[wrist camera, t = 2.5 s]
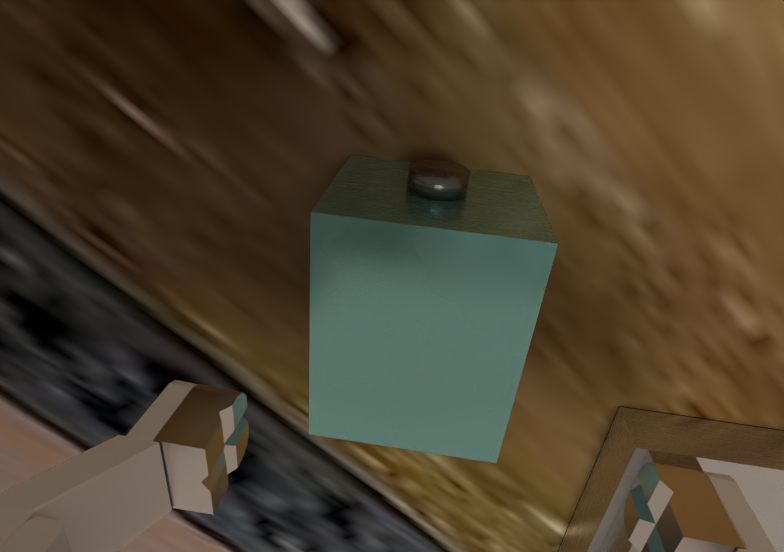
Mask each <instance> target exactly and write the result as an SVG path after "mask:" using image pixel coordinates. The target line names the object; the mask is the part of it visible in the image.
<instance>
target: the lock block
mask: <svg viewBox="0 0 784 552" xmlns="http://www.w3.org/2000/svg"><path fill="white" fill-rule="evenodd" d="M557 246H558V242H557V240H556V237H555V235H554V233H553V230H552V228H551V225H550V223H549V221H548V218H547V216H546V214H545V211H544V209H543V207H542V204H541V202H540V200H539V197H538V195H537V193H536V190H535V188H534V186H533V183H532V181H531V178H530V176H524V175H515V174H507V173H499V172H491V171H482V170H474V169H468V168H466V167H465V166H463V165H460V164H457V163H454V162H449V161H444V160H434V159H424V160H416V161H413V162H408V161H400V160H392V159H383V158H375V157H367V156H359V155H351V156H350V157H349V159H348V160H347V161H346V163H345V164H344V166H343V167H342V168H341V170H340V171H339V173H338V174H337V175H336V177H335V178H334V180H333V181H332V182H331V184H330V185H329V187H328V188H327V189H326V191H325V192H324V194H323V195H322V196H321V198H320V199H319V201H318V202H317V204H316V205H315V206H314V208H313V209H312V211H311V212H310V343H309V434H311V435H318V436H324V437H331V438H337V439H343V440H350V441H356V442H363V443H369V444H376V445H382V446H389V447H395V448H402V449H408V450H415V451H421V452H428V453H434V454H440V455H447V456H453V457H460V458H466V459H473V460H479V461H486V462H492V463H497V460H498V456H499V453H500V449H501V445H502V442H503V438H504V435H505V431H506V428H507V424H508V421H509V417H510V413H511V410H512V406H513V403H514V399H515V396H516V392H517V389H518V385H519V381H520V378H521V374H522V371H523V367H524V364H525V360H526V357H527V353H528V349H529V346H530V342H531V339H532V335H533V332H534V328H535V325H536V321H537V317H538V314H539V310H540V307H541V303H542V300H543V296H544V293H545V289H546V286H547V282H548V278H549V275H550V271H551V268H552V264H553V261H554V257H555V254H556V250H557Z"/></svg>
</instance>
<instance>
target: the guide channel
mask: <svg viewBox="0 0 784 552" xmlns="http://www.w3.org/2000/svg"><path fill="white" fill-rule="evenodd" d="M647 462H650V463H656V464H662V465H668V466H674V467H680V468H687V469H693V470H698V471H705V472H712V473H718V474H724V475H729V476H730V477H732V478H733V479H734V480H735V481H736V482H737V484H738V486H739V488H740V489H741V491H742V493H743V495H744V496H745V498H746V500H747V502H748V503H749V505H750V507H751V508H752V510H753V512H754V514H755V515H756V517H757V519H758V521H759V522H760V524H761V526H762V528H763V529H764V531H765V533H766V534H767V536H768V538H769V540H770V541H771V543H772V545H773V547H774V548H775V550H776V552H784V431H780V430H774V429H767V428H760V427H753V426H747V425H740V424H733V423H726V422H720V421H713V420H706V419H699V418H693V417H686V416H679V415H672V414H665V413H659V412H652V411H645V410H638V409H632V408H625V407H619V409H618V412H617V414H616V416H615V419H614V421H613V423H612V426H611V428H610V431H609V433H608V435H607V438H606V440H605V442H604V445H603V447H602V449H601V452H600V454H599V456H598V459H597V461H596V463H595V466H594V468H593V470H592V473H591V475H590V477H589V480H588V482H587V485H586V487H585V489H584V492H583V494H582V496H581V499H580V501H579V503H578V506H577V508H576V510H575V513H574V515H573V517H572V520H571V522H570V524H569V527H568V529H567V532H566V534H565V536H564V539H563V541H562V543H561V546H560V548H559V550H558V552H639V551H638V550H637V549H636V548H635V547H634V545H633V544H632V543H631V542H630V541H629V540H628V536H627V533H626V529H625V523H624V507H625V501H626V498H627V496H628V494H629V491H630V490H631V489H633V488H635V487H637V486H639V485H641V484H640V481H639V478H638V473H639V471H640V469H641V467H642V466H643V465H644V464H645V463H647Z"/></svg>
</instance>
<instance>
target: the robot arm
mask: <svg viewBox="0 0 784 552" xmlns="http://www.w3.org/2000/svg"><path fill="white" fill-rule="evenodd" d="M246 408H247V399H246V395H245V394H244V393H241V392H236V391H231V390H226V389H221V388H216V387H211V386H206V385H201V384H193V383H188V382H183V381H179V380H175V381H173V382H171V383H170V384H168V385H167V387H166V388H165V389H164V390H163V391H162V393H161V394H160V395H159V396H158V398H157V399H156V400H155V401H154V402H153V404H152V405H151V406H150V407H149V408H148V410H147V411H146V412H145V413H144V414H143V416H142V417H141V418H140V419H139V421H138V422H137V423H136V424H135V425H134V427H133V428H132V429H131V430H130V431H129V433H128V434H127V435H126V436H121V435H118V436H116V437H114V438H112V439H109V440H107V441H105V442H103V443H101V444H99V445H97V446H95V447H93V448H91V449H89V450H87V451H85V452H83V453H81V454H79V455H77V456H75V457H73V458H71V459H69V460H67V461H65V462H63V463H61V464H59V465H57V466H54V467H52V468H50V469H48V470H46V471H44V472H42V473H40V474H38V475H36V476H34V477H32V478H30V479H28V480H26V481H24V482H22V483H20V484H18V485H16V486H14V487H12V488H10V489H8V490H6V491H4V492H2V493H0V552H118V551H120V550H121V549H122V548H123V547H125V546H126V545H127V544H129V543H130V542H131V541H133V540H134V539H135V538H136V537H138V536H139V535H140V534H142V533H143V532H144V531H146V530H147V529H148V528H149V527H151V526H152V525H153V524H155V523H156V522H157V521H159V520H160V519H161V518H162V517H164V516H165V515H166V514H168V513H169V512H170V511H171V510H172V508H177V509H183V510H189V511H196V512H202V513H208V514H214V512H215V510H216V508H217V507H218V505H219V503H220V501H221V499H222V497H223V495H224V493H225V491H226V489H227V487H228V477H227V474H229V473H230V472H232V471H233V470H235V469H236V468H238V466H239V464H240V462H241V460H242V458H243V456H244V452H245V449H246V446H247V442H248V434H249V425H248V422H247V420H246V419H245V418H244V417H243V414H244V412H245V410H246ZM638 478H639V481H640V484H641V485H639V486H637V487H635V488H633V489H631V490H630V491H629V494H628V496H627V498H626V501H625V507H624V523H625V529H626V533H627V536H628V540H629V541H630V542H631V543H632V544H633V545H634V547H635V548H636V549H637V550H638V551H639V552H776V550H775V548H774V547H773V545H772V543H771V541H770V540H769V538H768V536H767V534H766V533H765V531H764V529H763V528H762V526H761V524H760V522H759V521H758V519H757V517H756V515H755V514H754V512H753V510H752V508H751V507H750V505H749V503H748V502H747V500H746V498H745V496H744V495H743V493H742V491H741V489H740V488H739V486H738V484H737V482H736V481H735V480H734V479H733V478H732V477H730V476H729V475H724V474H718V473H712V472H705V471H698V470H693V469H687V468H680V467H674V466H668V465H662V464H656V463H650V462H647V463H645V464H644V465H643V466H642V467H641V469H640V471H639V473H638Z"/></svg>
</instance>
